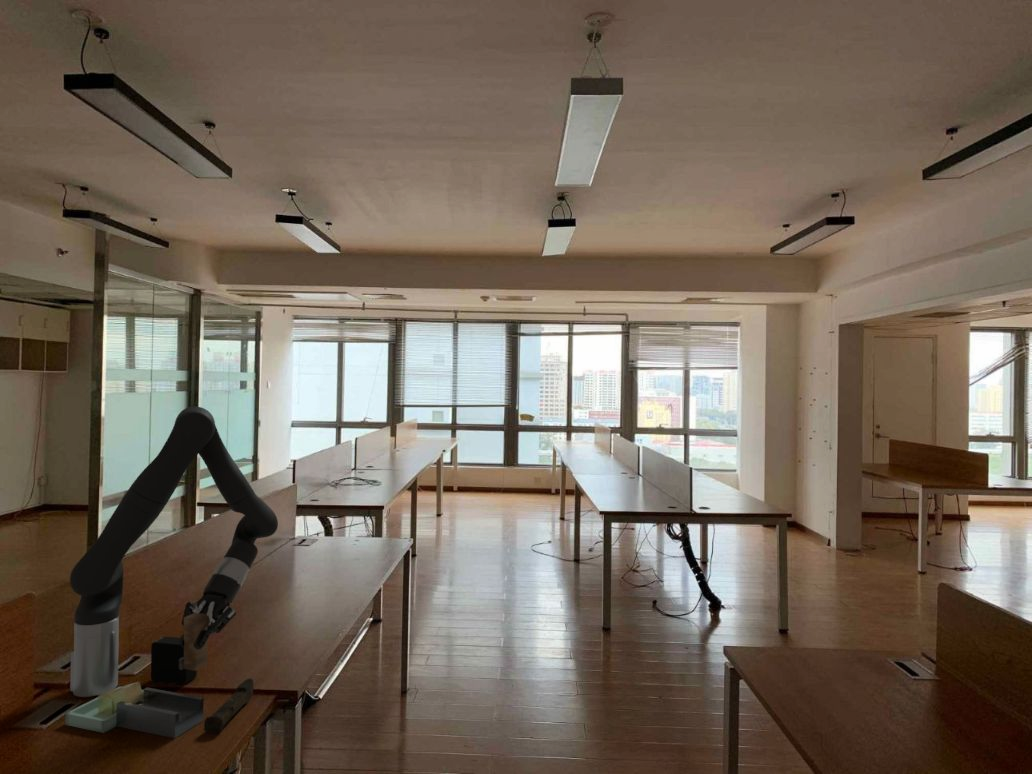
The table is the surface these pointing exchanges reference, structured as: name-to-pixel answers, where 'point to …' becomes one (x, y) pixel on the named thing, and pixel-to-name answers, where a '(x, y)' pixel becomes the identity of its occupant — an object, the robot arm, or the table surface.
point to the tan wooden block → (193, 656)
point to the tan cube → (106, 703)
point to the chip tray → (90, 717)
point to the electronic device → (169, 662)
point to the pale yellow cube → (128, 694)
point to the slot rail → (161, 713)
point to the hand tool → (229, 708)
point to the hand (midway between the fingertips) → (189, 646)
